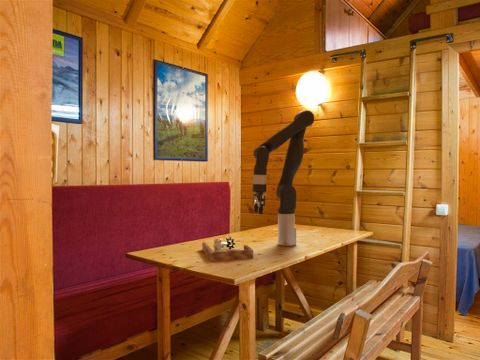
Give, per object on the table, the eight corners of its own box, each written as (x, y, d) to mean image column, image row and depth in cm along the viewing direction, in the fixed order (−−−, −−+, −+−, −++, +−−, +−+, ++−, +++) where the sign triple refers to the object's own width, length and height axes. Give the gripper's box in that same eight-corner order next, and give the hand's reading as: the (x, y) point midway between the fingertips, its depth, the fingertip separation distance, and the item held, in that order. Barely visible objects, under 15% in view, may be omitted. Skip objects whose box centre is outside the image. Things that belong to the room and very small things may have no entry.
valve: (219, 253, 183) (235, 250, 192) (219, 240, 183) (235, 237, 192) (210, 252, 187) (226, 248, 196) (210, 239, 187) (226, 235, 196)
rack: (239, 247, 197) (239, 239, 197) (253, 258, 172) (253, 248, 172) (202, 249, 192) (202, 241, 192) (210, 261, 167) (210, 251, 167)
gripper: (270, 184, 194) (269, 214, 195) (262, 183, 208) (260, 212, 208) (256, 183, 193) (255, 214, 193) (249, 182, 206) (247, 211, 206)
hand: (258, 213), depth 200 cm, fingers open, 8 cm apart
